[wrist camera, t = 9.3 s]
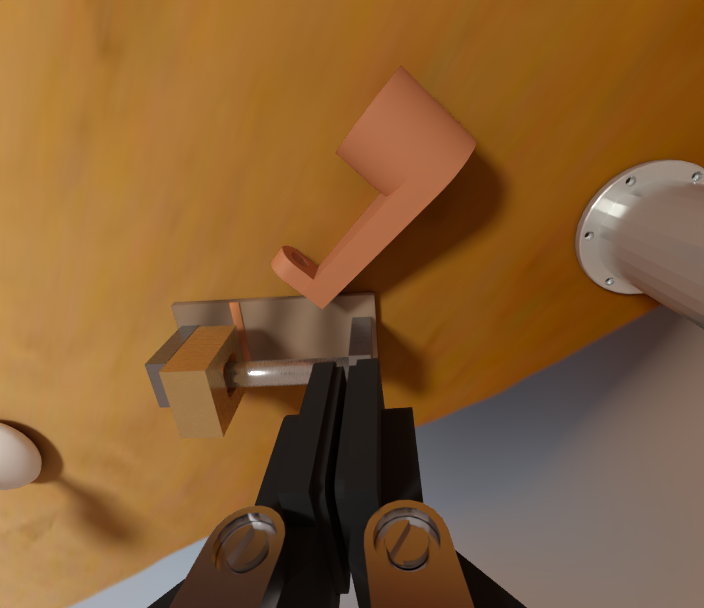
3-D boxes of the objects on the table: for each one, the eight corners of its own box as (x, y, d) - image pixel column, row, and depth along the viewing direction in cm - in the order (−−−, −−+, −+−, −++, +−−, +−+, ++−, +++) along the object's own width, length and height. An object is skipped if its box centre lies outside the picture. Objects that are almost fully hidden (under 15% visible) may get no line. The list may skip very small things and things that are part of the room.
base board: (374, 291, 41) (374, 295, 40) (378, 370, 45) (378, 375, 44) (174, 302, 43) (170, 306, 42) (196, 377, 47) (193, 382, 46)
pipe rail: (370, 313, 42) (370, 355, 34) (373, 352, 44) (373, 400, 37) (184, 322, 44) (144, 364, 36) (195, 360, 46) (159, 407, 38)
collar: (236, 324, 40) (204, 370, 32) (249, 382, 43) (223, 437, 35) (198, 326, 40) (158, 372, 33) (213, 384, 43) (180, 438, 35)
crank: (397, 72, 33) (405, 58, 26) (463, 137, 35) (487, 140, 28) (266, 247, 40) (242, 273, 33) (326, 293, 42) (317, 328, 34)
